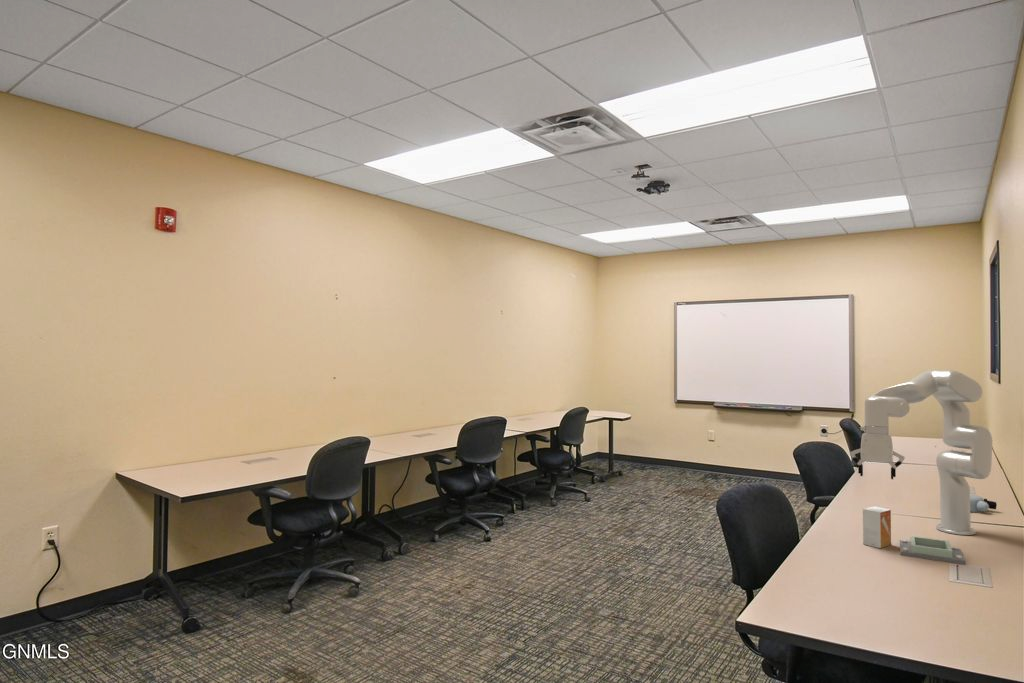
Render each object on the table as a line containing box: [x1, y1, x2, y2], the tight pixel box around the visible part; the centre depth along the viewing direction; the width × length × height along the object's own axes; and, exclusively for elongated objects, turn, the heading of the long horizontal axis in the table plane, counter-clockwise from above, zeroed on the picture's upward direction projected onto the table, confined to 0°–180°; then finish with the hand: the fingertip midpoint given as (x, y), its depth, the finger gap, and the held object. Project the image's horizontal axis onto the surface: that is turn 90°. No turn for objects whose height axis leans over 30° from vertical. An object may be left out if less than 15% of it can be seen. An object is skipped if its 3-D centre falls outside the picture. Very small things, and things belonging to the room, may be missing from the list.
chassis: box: [899, 535, 966, 565], centre depth 207 cm, size 15×18×4 cm
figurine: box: [970, 492, 997, 513], centre depth 267 cm, size 17×8×20 cm
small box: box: [862, 505, 892, 549], centre depth 217 cm, size 8×6×13 cm
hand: (876, 477), depth 217 cm, fingers open, 9 cm apart
